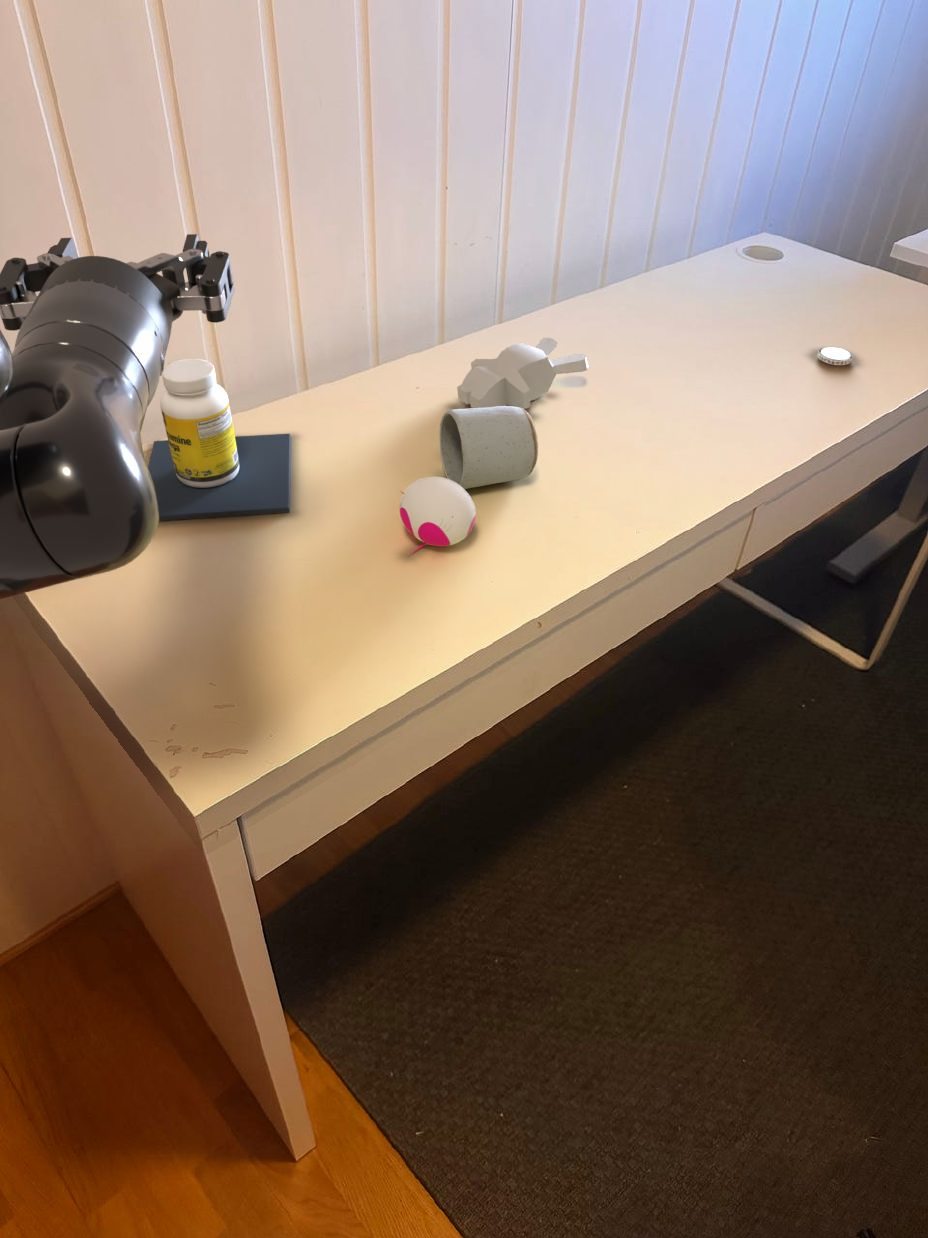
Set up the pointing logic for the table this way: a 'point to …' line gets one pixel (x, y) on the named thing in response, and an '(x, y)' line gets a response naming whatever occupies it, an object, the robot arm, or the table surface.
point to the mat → (246, 494)
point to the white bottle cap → (835, 355)
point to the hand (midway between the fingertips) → (133, 249)
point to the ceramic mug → (487, 445)
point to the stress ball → (437, 511)
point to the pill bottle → (198, 424)
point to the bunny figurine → (516, 375)
